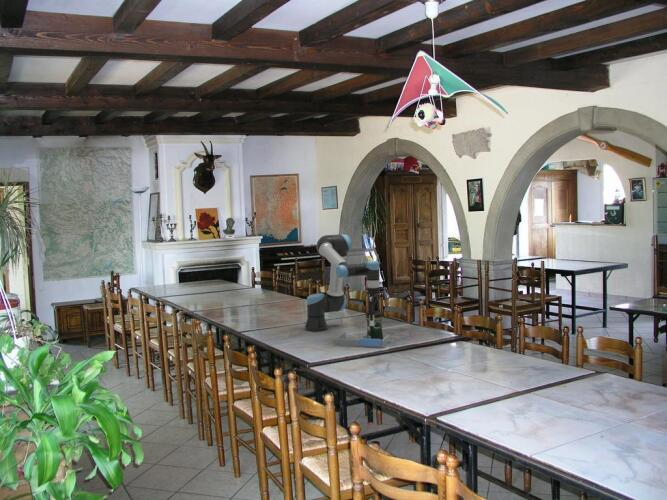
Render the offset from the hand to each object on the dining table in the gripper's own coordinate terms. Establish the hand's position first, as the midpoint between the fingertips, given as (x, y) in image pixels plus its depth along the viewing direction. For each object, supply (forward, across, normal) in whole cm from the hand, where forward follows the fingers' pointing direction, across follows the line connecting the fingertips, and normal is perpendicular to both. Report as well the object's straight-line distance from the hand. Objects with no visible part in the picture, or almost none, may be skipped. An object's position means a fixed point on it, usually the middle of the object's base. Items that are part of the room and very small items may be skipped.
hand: (374, 324), depth 389 cm
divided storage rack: (+12, +2, -7) cm, 14 cm away
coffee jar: (+11, 0, 0) cm, 11 cm away
